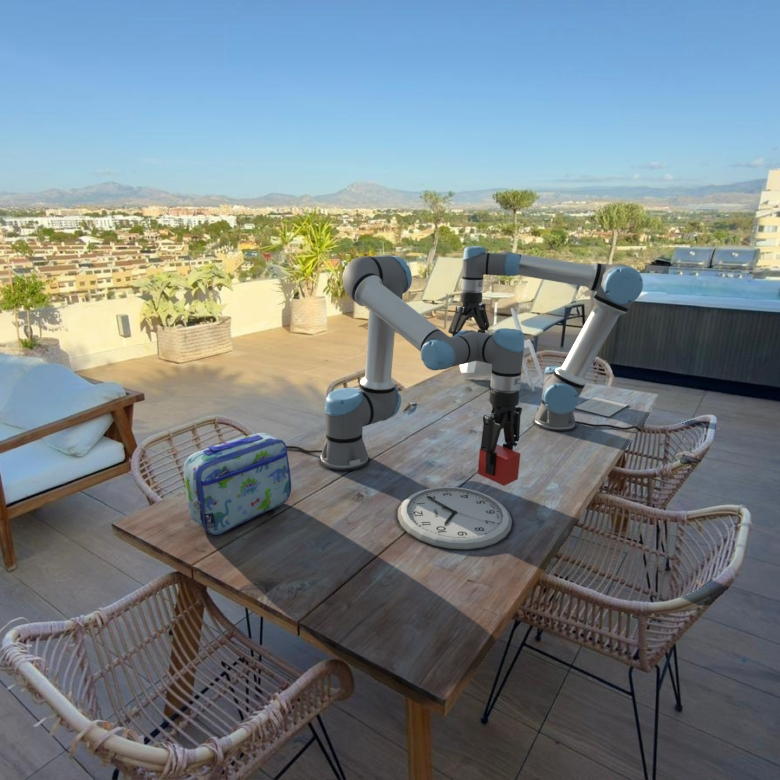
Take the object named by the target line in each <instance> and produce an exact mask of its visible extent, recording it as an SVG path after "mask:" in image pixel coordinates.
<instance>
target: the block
mask: <svg viewBox="0 0 780 780" xmlns="http://www.w3.org/2000/svg"><path fill="white" fill-rule="evenodd" d="M495 452H496V453H497V456H496V468H495V475H494V476H492V475H490V474H488V473H485V469H486V462H485V460H486V452H484V451H482V450H481V447H479V452H478V464H477V465H478V466H477V475H480V476H482V477H484V478H486V479H488V480H491V481H493V482H495V483H497V484H499V485H501V486H504V487H505V486H507V485H509V484H511V483H513V482H515V481H517V480H519V471H520V462H521V453H520V452H519V451H515V450H514V449H513V450H510V449H508V448H505V447H503V445H500V444H498V443H497V445H496V449H495Z"/></svg>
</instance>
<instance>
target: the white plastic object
mask: <svg viewBox="0 0 780 780" xmlns="http://www.w3.org/2000/svg"><path fill="white" fill-rule="evenodd" d="M510 312H511V316H512V319H513V321H514V325H515V329H517V330H520V331H522V332H523V330H522V327H521V324H520V321H519V318H518V315H517V312H516V311H515V309H514V307H511V308H510ZM526 355H531V358H532V360H533V364H534V367H535V370H536V373H537V376H538V379H539V382H540V384H541V386H542V387H543V383H544V373H543V371H542V369H541V365H540V362H539V359H538V356H537V353H536V350H535V348H534V343H532V341H531V339H530V338H528V339H525V338H524V352H523V361H522V369H523V373H524V376H525V380H526V382H527V385H528V387H529V388H530V389H531V391H532V392H533V393H535V386H534V383H533V380H532V376H531V374H530V371H529V368H528V364H527V361H526V358H525V356H526ZM458 366H459V370H460V374H461V375H462V377H463V378H464V379H473V378H474V379H475V378H482V377H483V378H484V377H491V372H492V364H489V363H485V362H480V361H473V362H469V363H465V364H461V365H458Z"/></svg>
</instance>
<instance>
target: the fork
mask: <svg viewBox="0 0 780 780" xmlns="http://www.w3.org/2000/svg"><path fill="white" fill-rule="evenodd" d="M418 398H419V397H418V396H413V397H412V398H411V400H410V402H409V404H408V405H407V406H406V407H405V409H404V410H403V412H405V411H407V410H408V409H410V408H411V406H412V405H416V404H417V402H418Z"/></svg>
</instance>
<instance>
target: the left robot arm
mask: <svg viewBox="0 0 780 780" xmlns="http://www.w3.org/2000/svg"><path fill="white" fill-rule="evenodd" d="M412 282H413V275H412V270H411V268H410V266H409V265H408V263H407V261H406V260H405V259H404V258H402V257H401V256H397V255H390V254H389V255H387V254H385V255H371V256H370V255H369V256H365V255H364V256H358V257H355V258H354V259H352V260H350V261H349V262H348V263H347V265H346V266H345V268H344V271H343V273H342V285H343V288H344V291H345V293H346V294H347V296H349V298H350V299H351V300H352V301H353V302H355V303H356V304H357V305H358V306H360V307H366V308H367V309H368V321H367V322H368V323H367V339H366V356H365V372H364V376H363V377H362V378H361V379H360V381H359V388H356V387H351V386H349V387H341V388H337V389H335V390H333V391H331V392H329V393H328V394H327V395H326V396H325V397H326V398H325V406H324V412H325V441H324V444H323V448H322V449H319V450H318V449H314V450H308V449H305V448H302V447H299V446H295V445H286V448H287V449H296V450H300V451H302V452H304V453H309V454H310V453H311V454H313V453H314V454H315V453H321V454H320V463H321V465H322V466H323V467H325V468H326V469H330V470H333V471H337V472H338V471H340V472H347V471H355V470H359V469H361V468H363V467H364V466H366V465H367V464H368V462H369V453H368V451H367V448H366V445H365V442H364V439H363V427H366V426H370V425H373V424H375V423H379V422H383V421H387V420H389V419H390V418H391V419H392V418H393V417H394V416H396V415H397V413H399V411H400V408H401V405H402V397H401V394H400V390H399V388H398V387H397V386H396V382H395V381H394V380H393V379H392V373H393V358H394V347H395V336H396V335H395V334H396V333H397V334H399V335H400V336H401V337H402V338H404V339H405V340H406V341H407V342H408V343H409V344H410V345H411V346H413V347H414V348H415V349H417V350H418V351H419V352H420V358H421V361H422V363H423V366H425V367H426V368H427V369H428V370H429V371H430V370H431V371H442V370H443V371H444V370H447V369H450V368H453V367H456V366H459V365H461V364H465V363H469V362H473V361H480V362H485V363H489V364H492V372H491V376H490V389H489V398H488V399H489V400H488V401H489V403H490V404H491V409H490V413H489V414H488V415H487V414H484V415H483V416H482V423H483V426H482V433H481V440H480V441H481V442H480V448H481V450H482V451H484V452H486V460H485V462H486V469H485V473H488V474H490V475H492V476H494V475H495V468H496V456H497V453H496V452H495V449H496V445H497V444H498V442H499V438H500V434H501V431H503V437H504V443H502V446H503V447H505V448H508V449H510V450H513V451H514V447H517V446H518V442H519V441H520V431H521V415H522V412H523V407H522V406H521V407H520V406H518V405H519V404H520V394H521V393H520V391H519V390H520V389H521V382H522V381H521V380H522V369H523V367H522V361H523V352H524V339H525V333H524V332H523V330H522V331H520V330H517V328H506V327H505V328H504V327H503V328H497V329H496V330H495V331H494V334H491V333H486V332H485V333H481V332H478V331H476V330H474V329H470V330H469V329H461V331H459V332H458V333H457V334H456V335H455V336H452V335H451V336H449V335H448V334H447V333H445V332H444V331H442V330H441V329H440V328H438V327H437V326H436V325H434V324H433V323H432V322H431V321H429V320H428V319H427V318H426V317H425V316H423V315H422V314H421V313H419V312H418V311H417V310H416V309H414V308H413V307H412V306H410V304H408V303H406V301H405V300H403V297H404V294H406V293H407V292H408V291H409V289H410V288H411V287H412Z"/></svg>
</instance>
